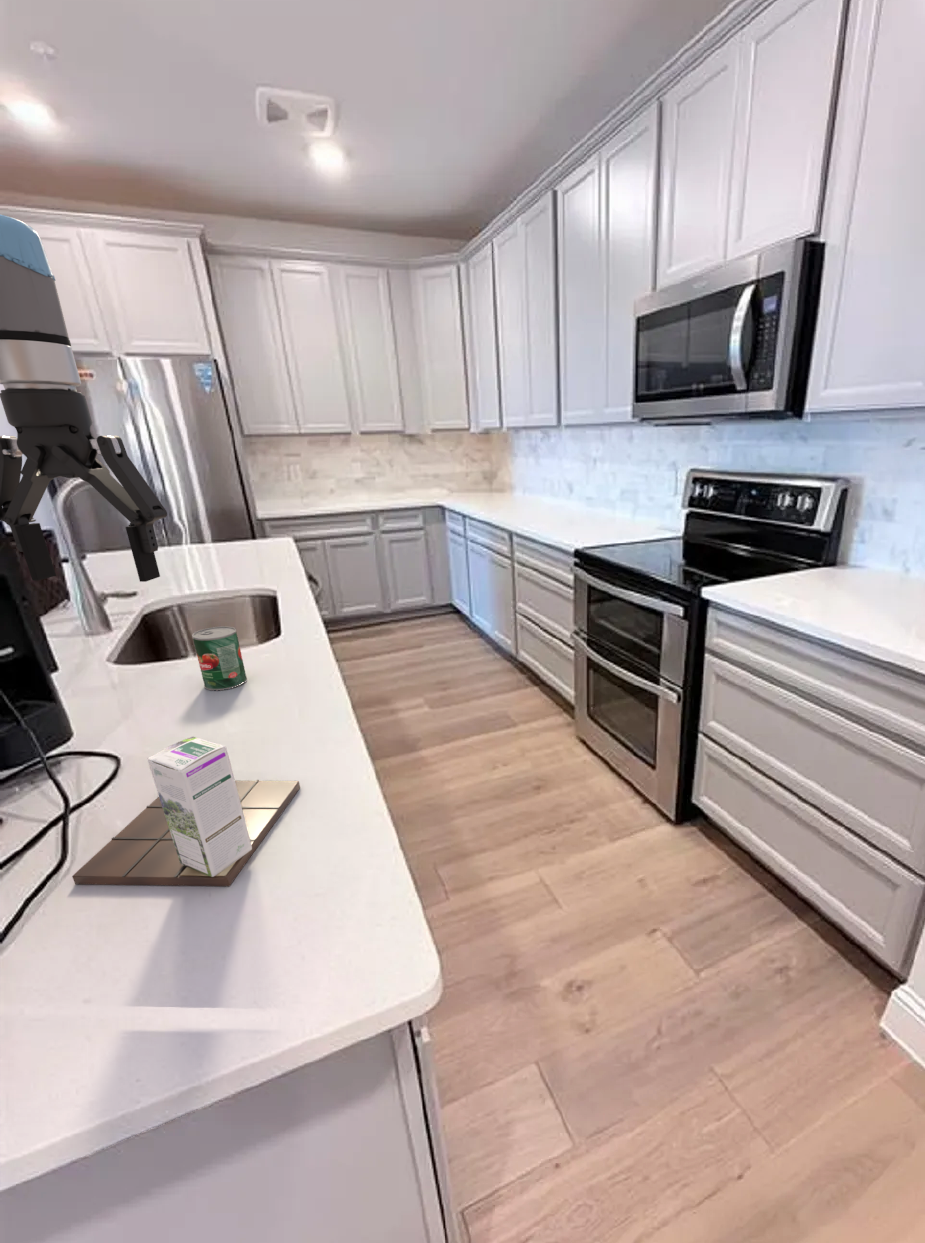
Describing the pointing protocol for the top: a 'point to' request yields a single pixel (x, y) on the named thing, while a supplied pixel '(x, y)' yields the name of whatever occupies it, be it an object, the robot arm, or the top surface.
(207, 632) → the canned tomato
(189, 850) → the syrup box
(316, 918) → the top surface
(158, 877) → the game board
